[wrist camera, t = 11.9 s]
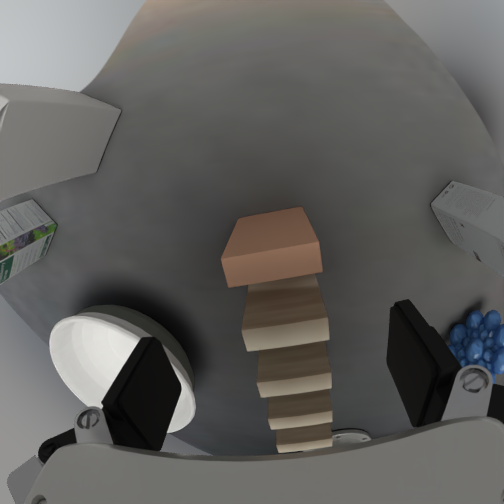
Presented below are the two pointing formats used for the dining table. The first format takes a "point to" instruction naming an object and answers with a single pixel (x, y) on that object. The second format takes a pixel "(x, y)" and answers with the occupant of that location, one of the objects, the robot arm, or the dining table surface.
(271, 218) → the terracotta domino
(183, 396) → the bowl
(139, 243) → the dining table surface
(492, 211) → the skincare box
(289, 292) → the birch domino
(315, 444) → the birch domino
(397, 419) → the dining table surface
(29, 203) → the syrup box
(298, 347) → the birch domino
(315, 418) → the birch domino
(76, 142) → the milk carton
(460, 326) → the grapes
